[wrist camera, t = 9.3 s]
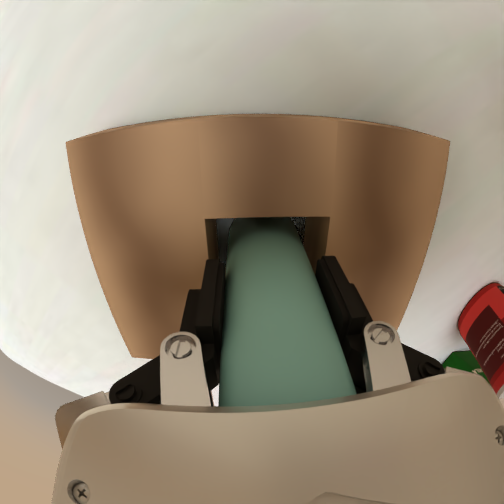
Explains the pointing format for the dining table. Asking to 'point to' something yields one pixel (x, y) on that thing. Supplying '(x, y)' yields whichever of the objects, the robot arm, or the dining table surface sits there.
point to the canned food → (486, 333)
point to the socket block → (252, 205)
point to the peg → (276, 322)
